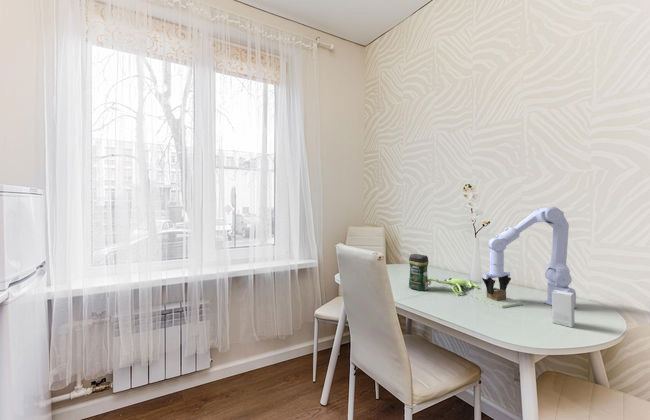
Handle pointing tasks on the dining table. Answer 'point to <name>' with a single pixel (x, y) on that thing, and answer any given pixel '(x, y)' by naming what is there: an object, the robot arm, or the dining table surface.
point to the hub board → (501, 304)
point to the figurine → (455, 282)
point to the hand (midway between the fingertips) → (496, 292)
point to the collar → (497, 295)
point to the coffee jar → (418, 272)
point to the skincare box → (563, 308)
